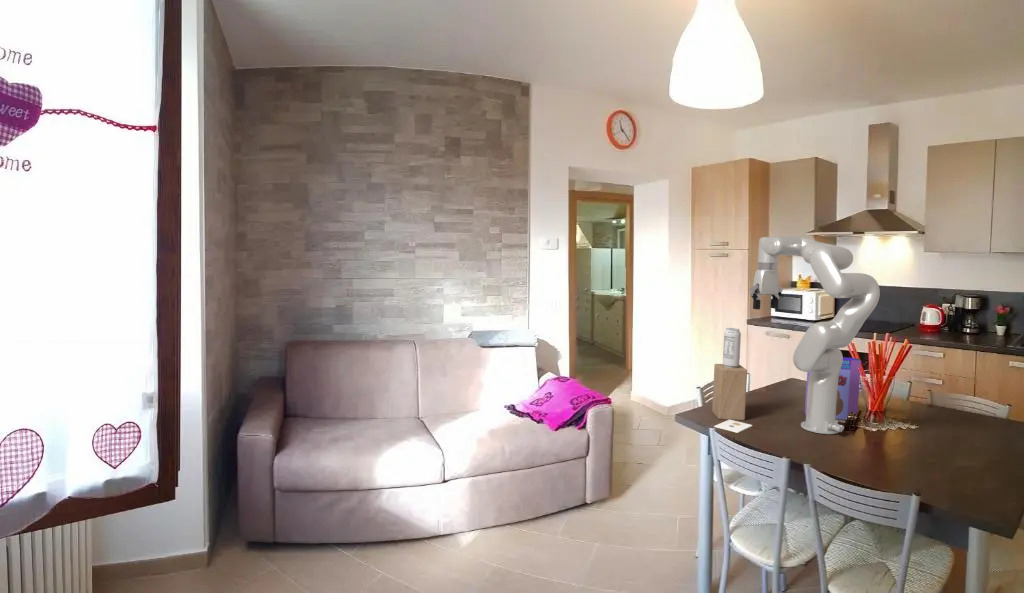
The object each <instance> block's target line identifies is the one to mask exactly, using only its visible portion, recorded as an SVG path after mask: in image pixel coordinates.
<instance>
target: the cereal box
mask: <svg viewBox="0 0 1024 593" xmlns="http://www.w3.org/2000/svg"><path fill="white" fill-rule="evenodd" d="M858 364H859V366H858ZM860 365H861V367H860ZM857 367H858V368H859V370H860V369H861V368H862V360H861V359H860V358H857V357H843V362H842V366H841V369H840V373H839V379H838V390H837V404H836V418H835V419H836V420H838V421H839V420H842V421H847V420H846V418H847V417H848V414H849V413H851V412H854V413H857V414H858V411H859V410H858V409H859V395H860V383H861V382H860V381H861V372H860V373H859V371H858V368H857ZM861 370H862V369H861ZM861 370H860V371H861ZM810 374H811V372H806V385H805V388H806V389H805V402H804V403H805V405H804V415H805V416H806V410H807V395H808V381H809V377H810Z"/></svg>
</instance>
